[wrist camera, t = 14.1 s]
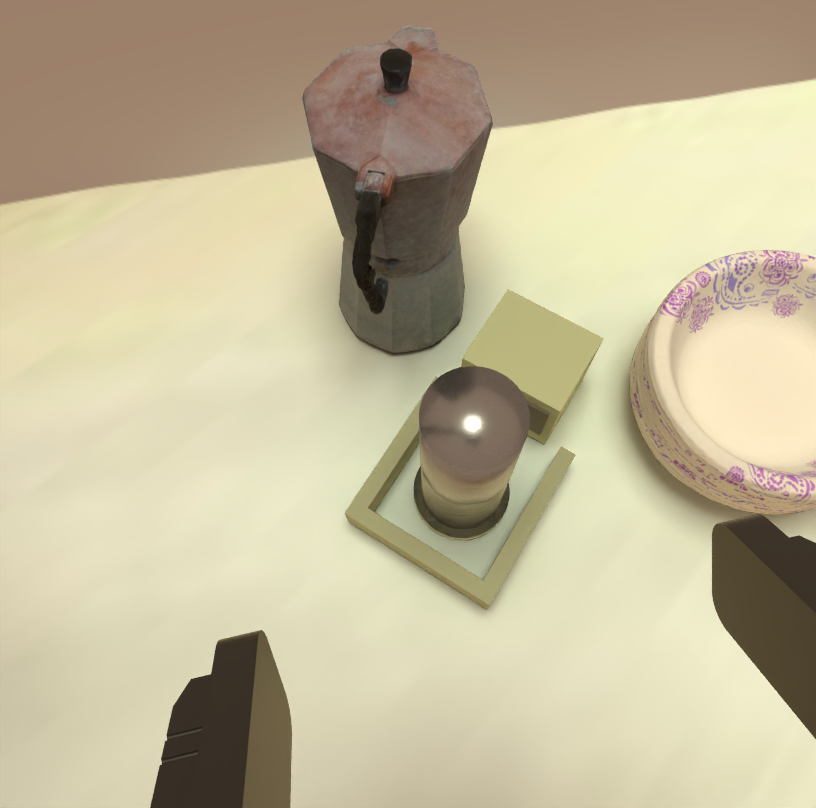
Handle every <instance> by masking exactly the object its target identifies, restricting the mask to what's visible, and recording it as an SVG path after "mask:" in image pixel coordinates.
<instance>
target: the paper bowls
mask: <svg viewBox="0 0 816 808" xmlns="http://www.w3.org/2000/svg"><path fill="white" fill-rule="evenodd" d="M629 383H630V386H629V387H630V397H631V404H632V409H633V412H634V415H635V419H636V422H637V424H638V427H639V429H640V432H641V434H642V436H643V438H644V440H645V441H646V443H647V444H648V446H649V448H650V450H651V451H652V453H653V454H654V456H655V458H656V459H657V460H658V461H659V462H660V463H661V464H662V465H663V466H664V467H665V468H666V469H667V470H668V471H669V472H670V473H671V474H672V475H673V476H674V477H675V478H677V479H678V480H679V481H681V482H683V483H684V484H685V485H687V486H689V487H690V488H692V489H693V490H695V491H697V492H698V493H700V494H701V495H703V496H705V497H707V498H708V499H711V500H713V501H716V502H718V503H721V504H723V505H728V506H730V507H732V508H734V509H738V510H743V511H747V512H754V513H760V514H786V513H797V512H802V511H806V510H809V509H813V508H816V258H815V257H812V256H808V255H804V254H800V253H795V252H787V251H778V250H761V251H748V252H742V253H737V254H733V255H729V256H725V257H722V258H719V259H717V260H714V261H712V262H709V263H707V264H705V265H703V266H701V267H700V268H698V269H696V270H695V271H693V272H692V273H690V274H689V275H688V276H686V277H685V278H683V279H682V280H681V281H680V282H679V283H678V284H677V285H676V286H675V287H674V288H673V289H672V290H671V291H670V293H669V294H668V295H667V297H666V298H665V299H664V300H663V302H662V304H661V305H660V306H659V308H658V310H657V312H656V314H655V315H654V317H653V318H652V320H651V321H650V323H649V324H648V326H647V328H646V329H645V331H644V333H643V335H642V337H641V339H640V340H639V342H638V345H637V347H636V350H635V353H634V356H633V359H632V365H631V369H630V381H629Z"/></svg>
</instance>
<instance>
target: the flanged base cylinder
mask: <svg viewBox="0 0 816 808" xmlns="http://www.w3.org/2000/svg"><path fill="white" fill-rule="evenodd" d="M529 426H530V413H529V408H528V404H527V401H526V399H525V397H524V395H523V393H522V392H521V390H520V389H519V388H518V386H517V385H516V384H515V383H514V382H513V381H512V380H510V379H509V378H508V377H507V376H505V375H503V374H502V373H500V372H498V371H495V370H493V369H490V368H485V367H479V366H467V367H460V368H457V369H453V370H451V371H449V372H447V373H445V374H443V375H441V376H440V377H439V378H437V379H436V380H435V381H434V382H433V383H432V384H431V385H430V387H429V388H428V389H427V391H426V392H425V394H424V396H423V398H422V401H421V404H420V409H419V434H420V458H421V467H420V468H419V470H418V472H417V475H416V478H415V482H414V499H415V504H416V508H417V510H418V513H419V515H420V516H421V518H422V520H423V521H424V522H425V523H426V525H427V526H428V527H430V528H431V529H432V530H433V531H435V532H436V533H438V534H440V535H441V536H444V537H447V538H450V539H454V540H469V539H474V538H478V537H480V536H482V535H485V534H486V533H488V532H489V531H491V530H492V529H493V528H494V527H495V526H496V525H497V524H498V523H499V521H500V520H501V518H502V517H503V515H504V513H505V511H506V508H507V505H508V501H509V483H508V482H509V479H510V477H511V474H512V472H513V469H514V467H515V464H516V462H517V460H518V457H519V455H520V452H521V450H522V447H523V445H524V442H525V440H526V437H527V434H528V431H529Z"/></svg>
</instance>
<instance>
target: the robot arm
mask: <svg viewBox="0 0 816 808" xmlns="http://www.w3.org/2000/svg"><path fill="white" fill-rule="evenodd" d="M712 596H713V601H714V605H715V609H716V611H717V614H718V616H719V618H720V620H721V622H722V624H723V626H724V627H725V629H726V630H727V631H728V632H729V634H730V635H731V636H732V637H733V639H734V640H735V641H736V642H737V643H738V645H739V646H740V647H741V648H742V650H743V651H744V652H745V653H746V654H747V656H748V657H749V658H750V659H751V661H752V662H753V663H754V664H755V665H756V667H757V668H758V669H759V670H760V672H761V673H762V674H763V675H764V676H765V678H766V679H767V680H768V681H769V683H770V684H771V685H772V686H773V687H774V689H775V690H776V691H777V692H778V694H779V695H780V696H781V697H782V698H783V700H784V701H785V702H786V703H787V705H788V706H789V707H790V708H791V709H792V711H793V712H794V713H795V714H796V716H797V717H798V718H799V719H800V720H801V722H802V723H803V724H804V725H805V727H806V728H807V729H808V730H809V731H810V733H811V734H812V735H813V736H814V738H815V739H816V543H814V542H812V541H810V540H808V539H805V538H803V537H801V536H795V537H791V538H789V537H787V536H786V535H785V534H784V533H783V532H782V531H781V530H779V529H778V528H777V527H776V526H775V525H774V524H773V523H771V522H770V521H769V520H768V519H767V518H765V517H764V516H762V515H752V516H748V517H744V518H740V519H736V520H731V521H727V522H723V523H719V524H716V525H715V526H714V528H713V532H712ZM291 749H292V726H291V716H290V710H289V705H288V700H287V696H286V693H285V690H284V687H283V684H282V681H281V678H280V675H279V672H278V669H277V666H276V663H275V660H274V657H273V654H272V651H271V649H270V646H269V643H268V640H267V637H266V635H265V633H264V632H263V631H262V630H260V631H256V632H251V633H247V634H243V635H239V636H234V637H230V638H226V639H222V640H219V641H218V642H217V645H216V650H215V655H214V661H213V667H212V673H211V674H210V675H206V676H202V677H198V678H194V679H191V680H190V682H189V683H188V685H187V686H186V688H185V689H184V691H183V692H182V694H181V695H180V697H179V698H178V700H177V701H176V703H175V704H174V706H173V709H172V714H171V718H170V722H169V727H168V731H167V741H165V745H164V749H163V754H162V758H161V760H162V765H160V767H159V771H158V776H157V780H156V785H155V789H154V794H153V798H152V802H151V807H150V808H290V792H291Z"/></svg>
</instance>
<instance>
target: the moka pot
mask: <svg viewBox="0 0 816 808" xmlns="http://www.w3.org/2000/svg"><path fill="white" fill-rule="evenodd" d="M302 99H303V104H304V108H305V112H306V117H307V122H308V127H309V131H310V135H311V141H312V147H313V151H314V153H315V156H316V159H317V162H318V165H319V168H320V171H321V174H322V177H323V180H324V183H325V186H326V189H327V192H328V195H329V197H330V200H331V203H332V206H333V209H334V212H335V216H336V219H337V222H338V225H339V228H340V231H341V233H342V236H343V237H344V241H343V254H342V270H341V283H340V300H339V305H340V308H341V310H342V313H343V315H344V317H345V319H346V321H347V322H348V324H349V326H350V327H351V328H352V330H353V331H354V333H355V334H356V335H357V336H358V337H359V338H361V339H362V340H364V341H366V342H367V343H370V344H372V345H374V346H376V347H378V348H381V349H384V350H386V351H388V352H390V353H401V352H408V351H415V350H420V349H423V348H426V347H428V346H431V345H434V344H435V343H437V342H439V341H440V340H441V339H442V338H443V337H445V336H446V335H447V334H448V333H449V332H450V331H451V330H452V329H453V328H454V327H455V326H456V324H458V323H459V321H460V319H461V315H462V310H463V298H464V288H465V285H464V276H463V265H462V259H461V247H460V241H459V225H460V224H461V222H462V221H463V219H464V218H465V217H466V215H467V212H468V209H469V205H470V202H471V198H472V194H473V190H474V187H475V184H476V180H477V176H478V173H479V169H480V166H481V162H482V159H483V155H484V152H485V149H486V145H487V141H488V138H489V135H490V131H491V128H492V124H493V123H492V117H491V114H490V112H489V108H488V105H487V102H486V99H485V97H484V93H483V90H482V87H481V84H480V81H479V77H478V73H477V70H476V69H475V67H474V66H473V65H471V64H469V63H467V62H464V61H462V60H460V59H458V58H456V57H455V56H452V55H450V54H447V53H446V52H444V51H442V50H440V49H439V46H438V43H437V39H436V34H435V32H434V31H433V30H432V29H430V28H428V27H427V28H417V27H413V26H405V27H403V28H401V29H400V30H399V31H398V32H397V33H396V34H395V35H394V36H393V37H392V38H391V39H390V40H389V41H388V42H386V43H380V44H374V45H366V46H358V47H352V48H347V49H346V50H344V51H343V52H342V53H341V54H339V56H338V57H337V58H336V59H335V60H334V61H333V62H332V63H331V64H330V65H329V66H328V67H327V68H326V69H325V70H324V71H323V72H322V73H321V74H320V75H319V76H318V77H317V78H316V79H315V80H314V81H313V82H312V83H311V84H310V85H309V86H308V87H307V88H306V89H305V91H304V93H303V98H302Z"/></svg>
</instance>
